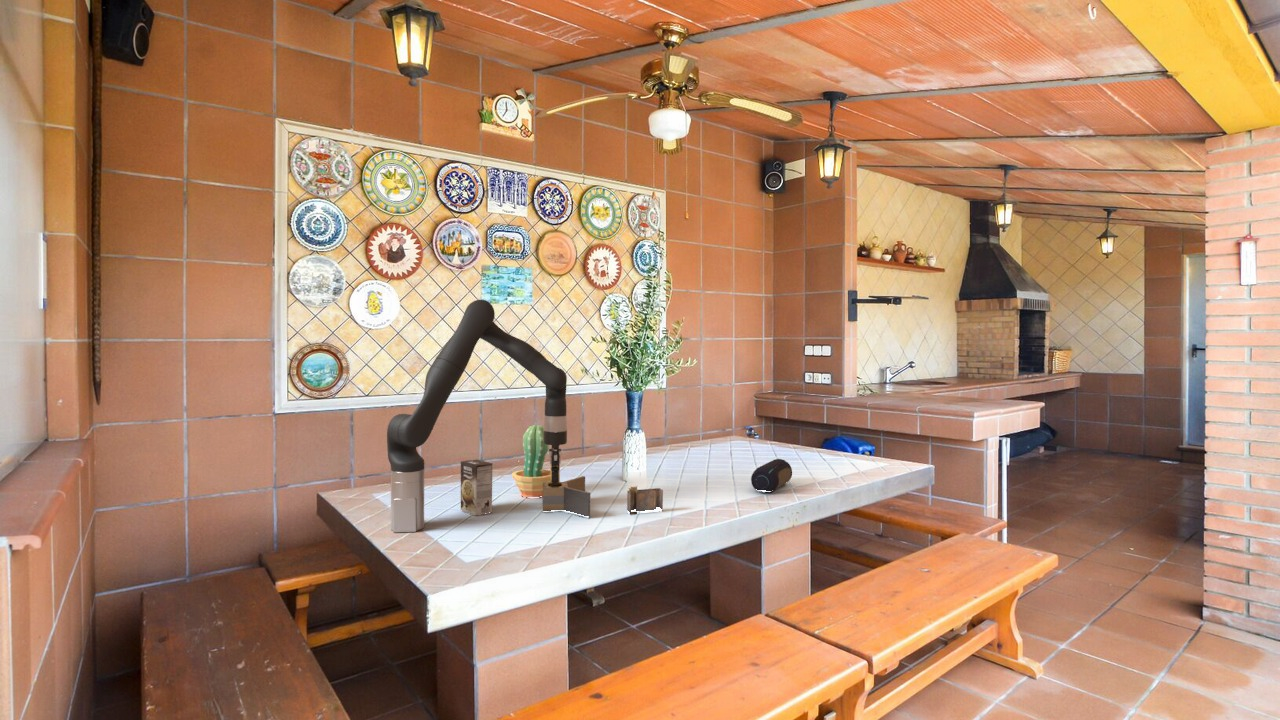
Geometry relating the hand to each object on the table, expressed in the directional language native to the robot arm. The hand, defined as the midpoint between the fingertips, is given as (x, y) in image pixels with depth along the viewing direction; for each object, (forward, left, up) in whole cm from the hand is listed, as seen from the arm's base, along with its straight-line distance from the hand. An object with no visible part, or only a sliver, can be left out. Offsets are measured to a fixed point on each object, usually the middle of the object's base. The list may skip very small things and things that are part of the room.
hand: (554, 481), depth 215 cm
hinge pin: (0, 0, -3) cm, 3 cm away
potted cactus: (+19, +7, -9) cm, 22 cm away
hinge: (0, -3, -9) cm, 10 cm away
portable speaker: (+22, -82, -9) cm, 86 cm away
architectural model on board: (-7, -29, -10) cm, 31 cm away
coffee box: (-1, +25, -9) cm, 27 cm away
